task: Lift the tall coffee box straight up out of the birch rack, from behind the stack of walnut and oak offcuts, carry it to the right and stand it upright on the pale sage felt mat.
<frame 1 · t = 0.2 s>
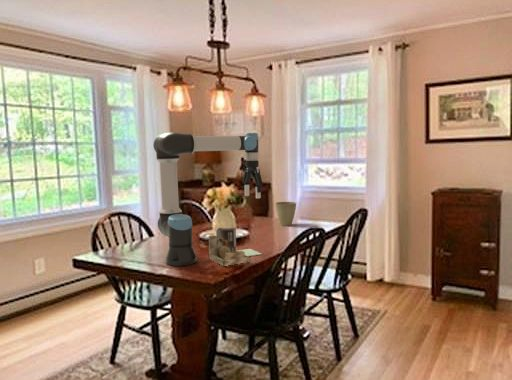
hand: (252, 197, 253), 28 cm above the table, fingers open, 13 cm apart
plant pot: (286, 225, 315), on the table
rack: (228, 260, 221), on the table
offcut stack: (233, 263, 216), resting in rack
coffee box: (227, 260, 223), resting in rack
felt mat: (245, 253, 235), on the table
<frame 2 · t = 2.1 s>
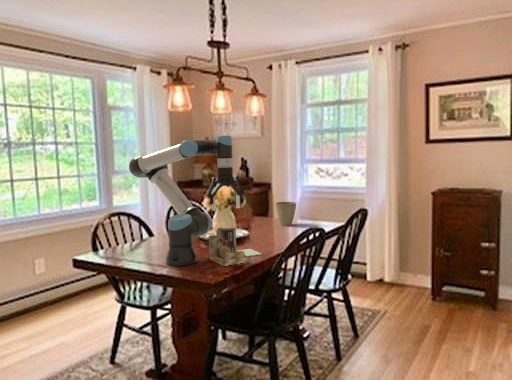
hand: (226, 209, 220), 26 cm above the table, fingers open, 13 cm apart
nothing on the table moved.
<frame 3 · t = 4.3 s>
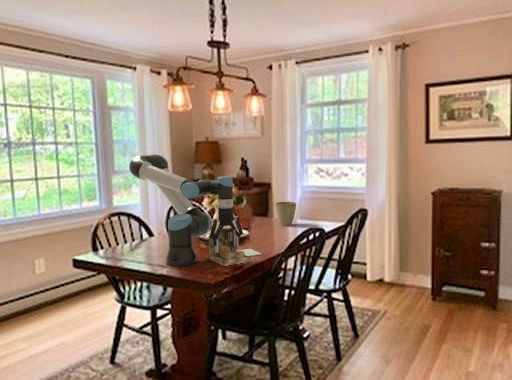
hand: (226, 250, 223), 5 cm above the table, fingers closed on coffee box, 10 cm apart
coffee box: (227, 260, 223), resting in rack, touching gripper
everything else where it was.
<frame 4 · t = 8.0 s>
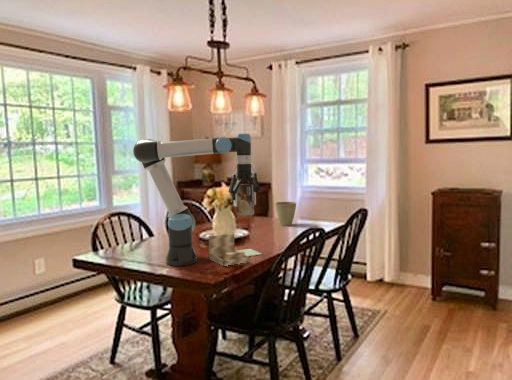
hand: (244, 205, 232), 26 cm above the table, fingers closed on coffee box, 10 cm apart
coffee box: (245, 214, 233), point 21 cm above the table, touching gripper
everything else where it was.
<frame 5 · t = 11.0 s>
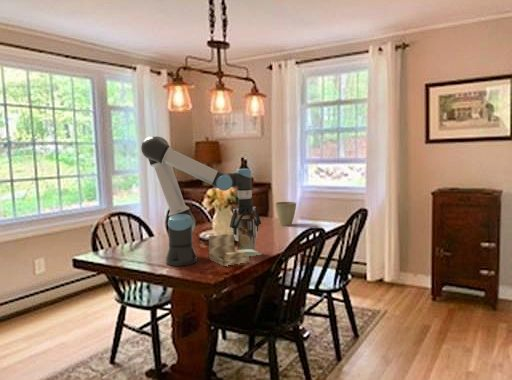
hand: (246, 239, 234), 8 cm above the table, fingers closed on coffee box, 10 cm apart
coffee box: (246, 248, 235), point 3 cm above the table, touching gripper
everything else where it was.
when the fingers open (7 cm above the table, at t = 11.9 s): coffee box drops 2 cm, resting on felt mat.
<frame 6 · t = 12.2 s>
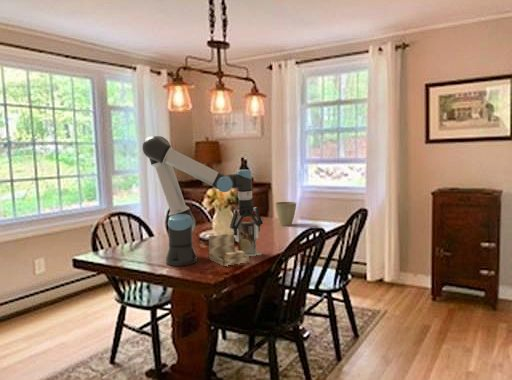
hand: (247, 239, 235), 8 cm above the table, fingers open, 11 cm apart
coffee box: (247, 252, 235), resting on felt mat
everything else where it was.
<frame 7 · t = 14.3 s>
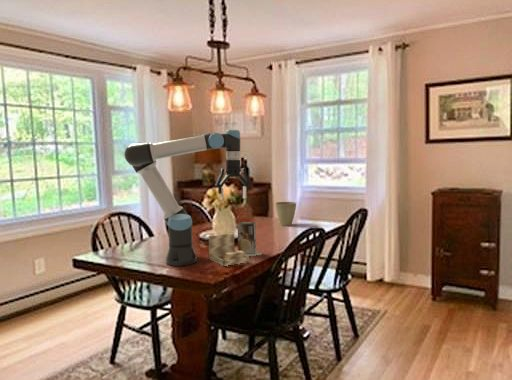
hand: (233, 199, 235), 29 cm above the table, fingers open, 13 cm apart
nothing on the table moved.
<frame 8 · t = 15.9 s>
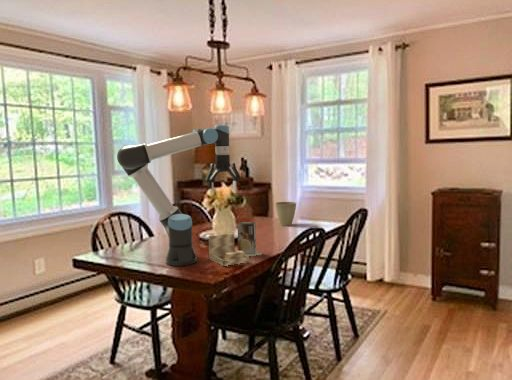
hand: (223, 193, 238), 32 cm above the table, fingers open, 13 cm apart
nothing on the table moved.
at the end: coffee box inside the target area (0.9 cm from its centre), resting on felt mat; coffee box tilted 0°; the gripper is holding nothing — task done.
